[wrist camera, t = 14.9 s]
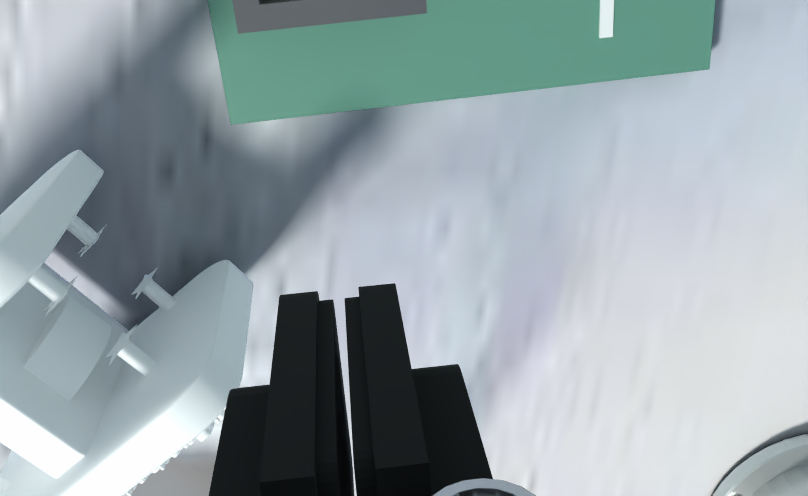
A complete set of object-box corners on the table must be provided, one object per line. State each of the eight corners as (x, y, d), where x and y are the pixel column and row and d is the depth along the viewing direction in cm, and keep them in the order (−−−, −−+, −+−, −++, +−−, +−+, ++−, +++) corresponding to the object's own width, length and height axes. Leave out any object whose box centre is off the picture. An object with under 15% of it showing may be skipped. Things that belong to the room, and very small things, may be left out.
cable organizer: (100, 118, 35) (13, 220, 24) (265, 271, 39) (252, 415, 29) (-114, 317, 38) (-273, 485, 27) (62, 440, 42) (-18, 626, 31)
